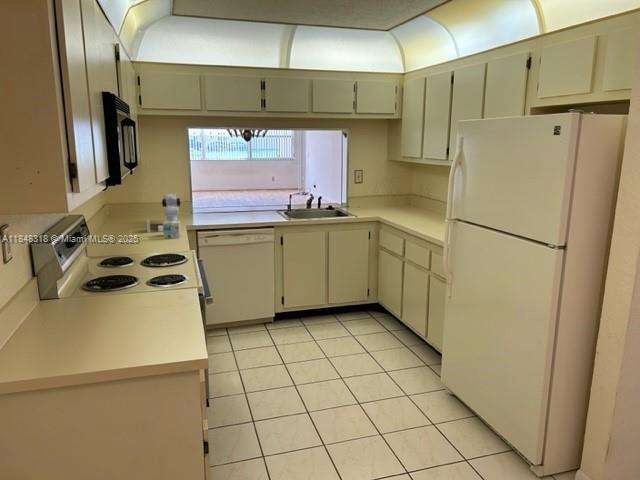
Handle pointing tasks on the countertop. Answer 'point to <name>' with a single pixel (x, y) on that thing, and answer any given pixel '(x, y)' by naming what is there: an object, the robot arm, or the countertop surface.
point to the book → (160, 228)
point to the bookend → (148, 226)
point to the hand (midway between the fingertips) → (171, 204)
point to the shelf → (155, 227)
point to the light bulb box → (171, 229)
